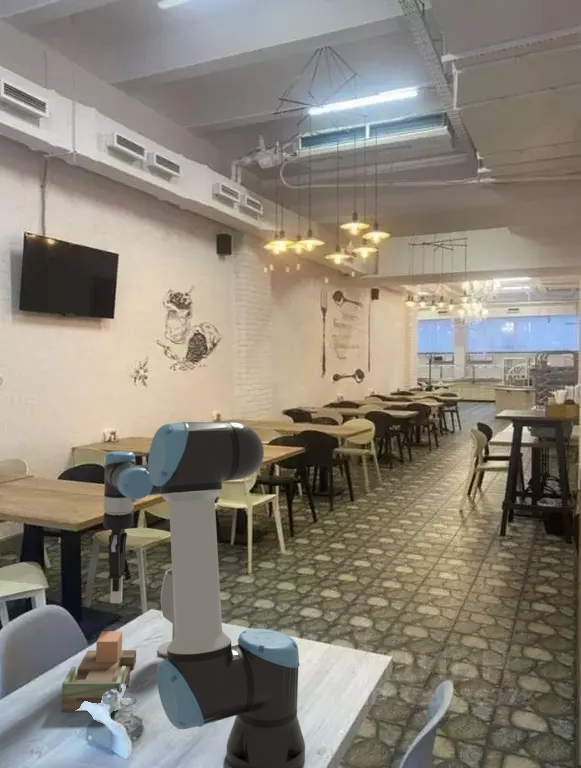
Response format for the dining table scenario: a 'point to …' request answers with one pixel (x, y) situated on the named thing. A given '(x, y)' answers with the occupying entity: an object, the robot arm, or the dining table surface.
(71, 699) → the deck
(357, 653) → the dining table surface
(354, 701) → the dining table surface
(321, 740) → the dining table surface
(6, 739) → the dining table surface
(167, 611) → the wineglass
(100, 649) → the block
